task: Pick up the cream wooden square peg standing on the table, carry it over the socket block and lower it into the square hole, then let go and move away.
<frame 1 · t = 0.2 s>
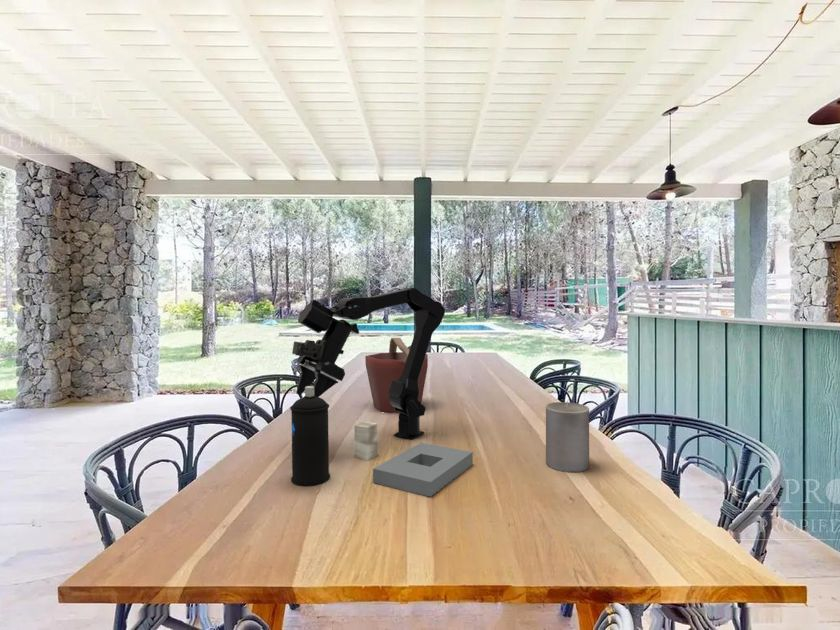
hand: (303, 397, 112), 14 cm above the table, tool tilted 30°, fingers open, 9 cm apart
bucket: (396, 408, 161), on the table
socket block: (425, 473, 101), on the table
cream peg: (366, 456, 112), on the table
pillar candle: (566, 465, 105), on the table
aerosol can: (310, 479, 98), on the table
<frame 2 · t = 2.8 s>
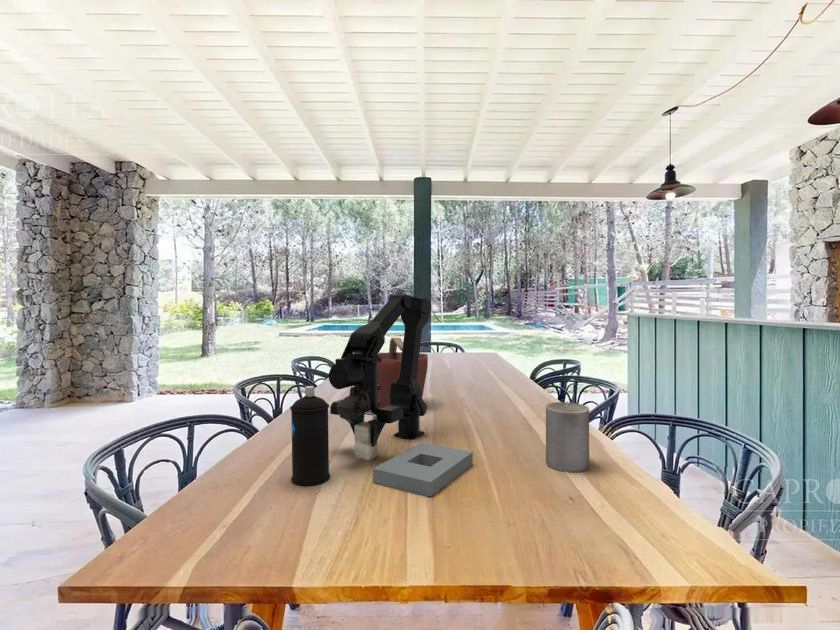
hand: (366, 445, 111), 3 cm above the table, tool pointing down, fingers closed on cream peg, 4 cm apart
cream peg: (366, 456, 112), on the table, touching gripper
everything else where it was.
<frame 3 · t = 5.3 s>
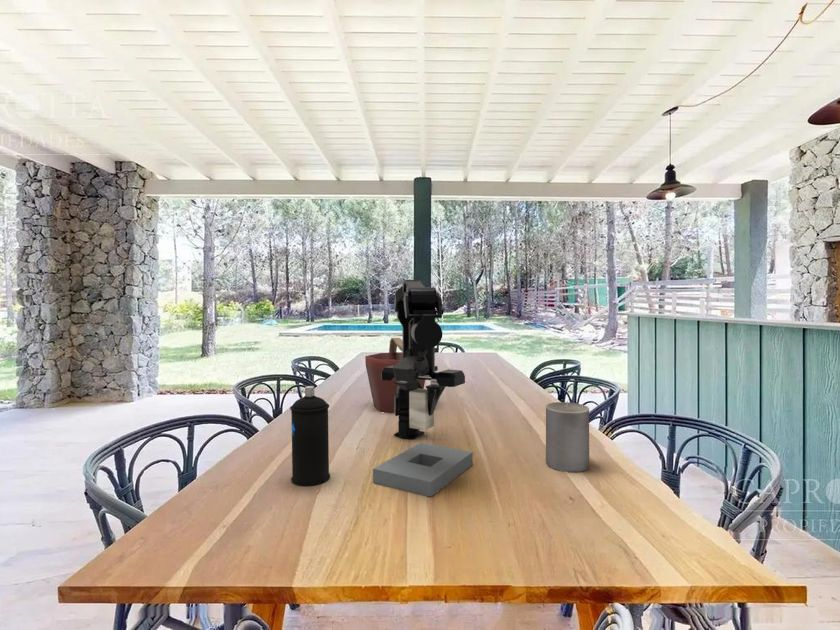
hand: (422, 414, 100), 13 cm above the table, tool pointing down, fingers closed on cream peg, 4 cm apart
cream peg: (421, 426, 100), point 10 cm above the table, touching gripper
everything else where it was.
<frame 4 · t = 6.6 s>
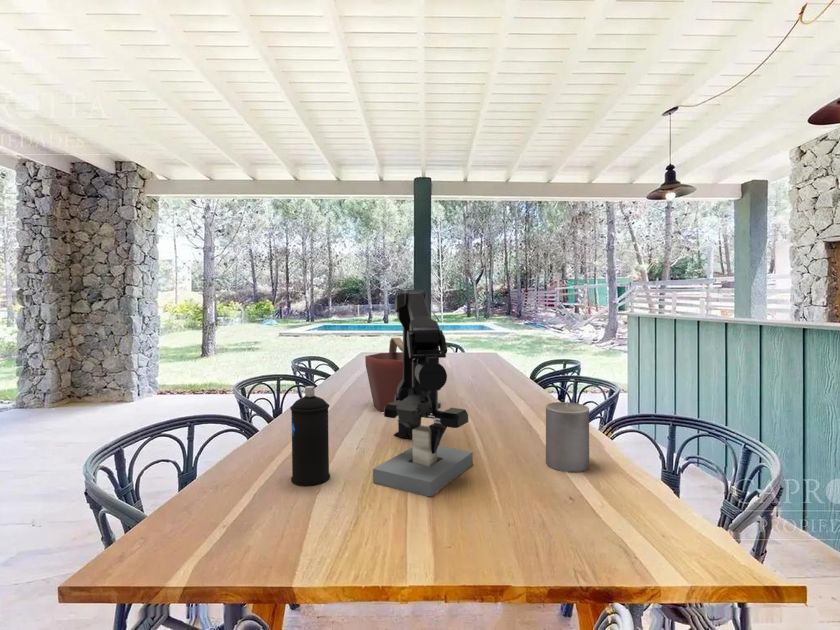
hand: (425, 451, 101), 5 cm above the table, tool pointing down, fingers closed on cream peg, 4 cm apart
cream peg: (424, 464, 101), point 2 cm above the table, touching gripper
everything else where it was.
when the fingers open (4 cm above the table, at t = 7.7 s): cream peg drops 1 cm, resting in socket block.
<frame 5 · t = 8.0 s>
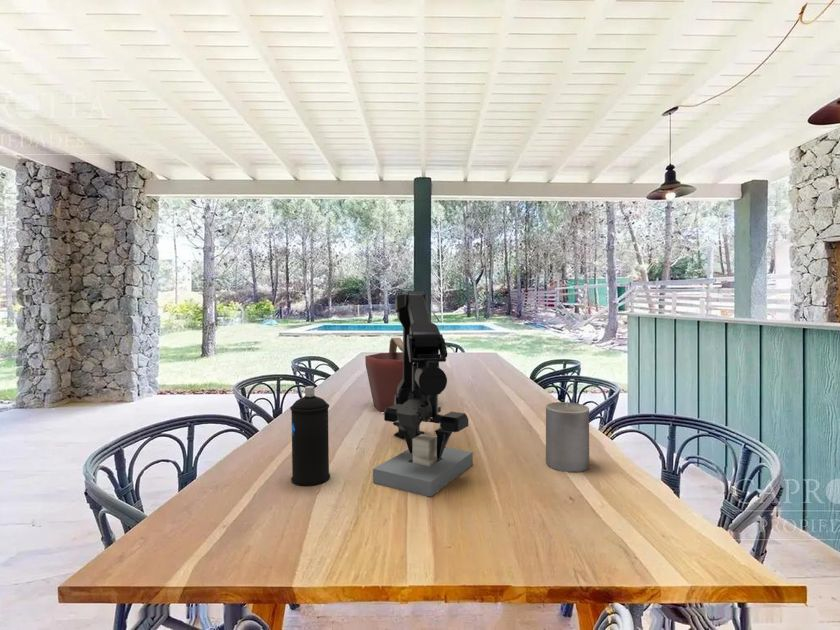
hand: (425, 455, 101), 4 cm above the table, tool pointing down, fingers open, 7 cm apart
cream peg: (425, 473, 101), resting in socket block
everything else where it was.
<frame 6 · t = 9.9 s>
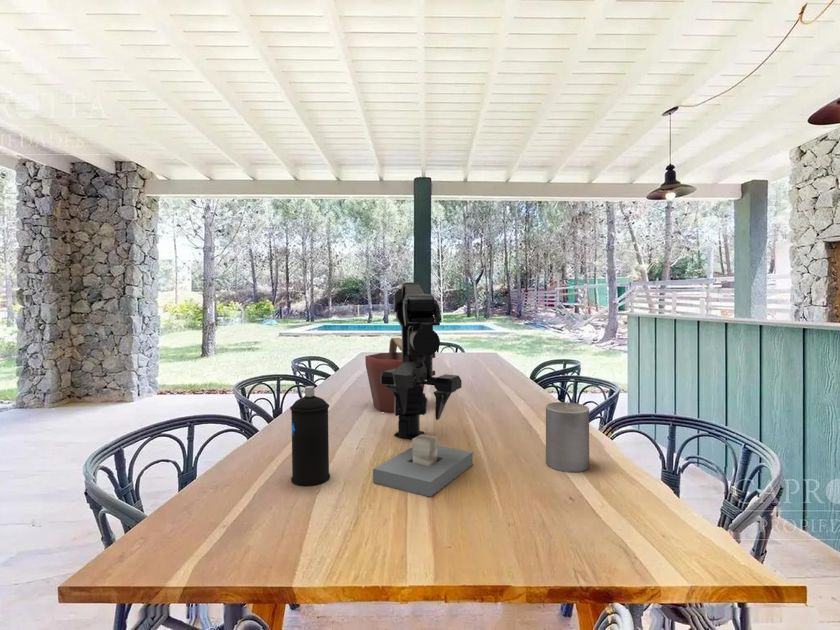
hand: (420, 416, 105), 12 cm above the table, tool pointing down, fingers open, 9 cm apart
nothing on the table moved.
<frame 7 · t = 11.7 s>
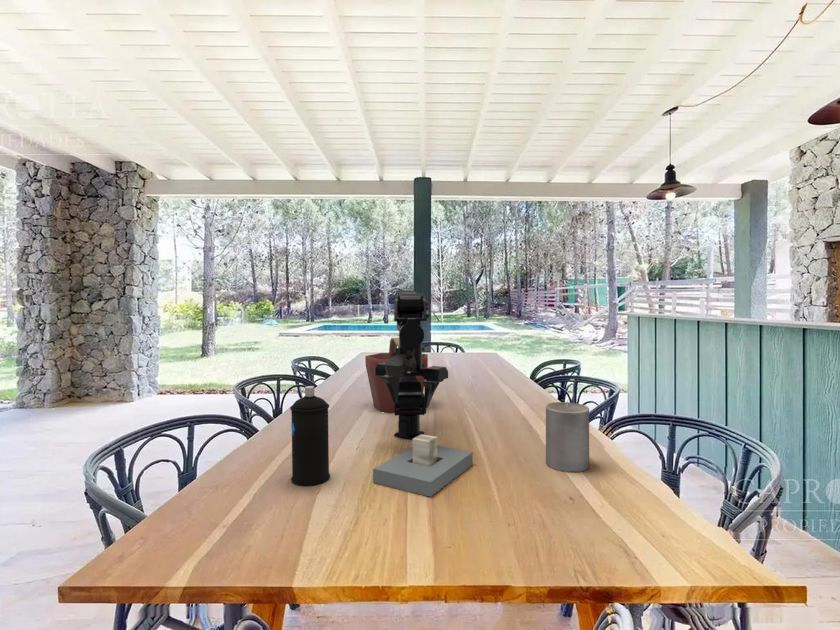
hand: (410, 405, 114), 12 cm above the table, tool pointing down, fingers open, 9 cm apart
nothing on the table moved.
at the end: cream peg 0.1 cm off-centre on the socket block, point 0.0 cm above the socket block's base; cream peg tilted 0°; the gripper is holding nothing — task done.
